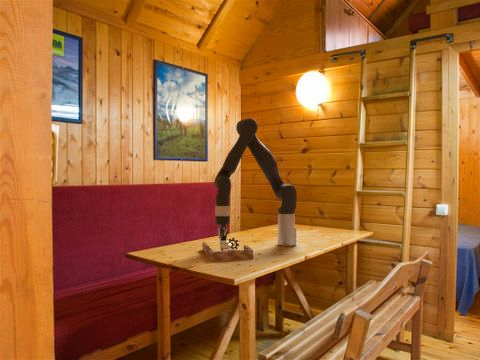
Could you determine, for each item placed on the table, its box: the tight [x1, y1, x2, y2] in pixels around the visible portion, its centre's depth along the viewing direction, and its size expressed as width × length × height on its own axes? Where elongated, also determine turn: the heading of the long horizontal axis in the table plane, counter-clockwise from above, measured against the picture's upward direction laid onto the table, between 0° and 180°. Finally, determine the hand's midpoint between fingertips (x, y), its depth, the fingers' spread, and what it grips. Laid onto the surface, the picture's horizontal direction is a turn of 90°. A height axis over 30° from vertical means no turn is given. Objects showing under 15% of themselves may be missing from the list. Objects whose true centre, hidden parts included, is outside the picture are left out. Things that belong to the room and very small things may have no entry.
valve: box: [219, 237, 240, 251], centre depth 184 cm, size 7×7×12 cm
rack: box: [201, 241, 254, 262], centre depth 182 cm, size 20×26×5 cm
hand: (222, 248), depth 189 cm, fingers closed
